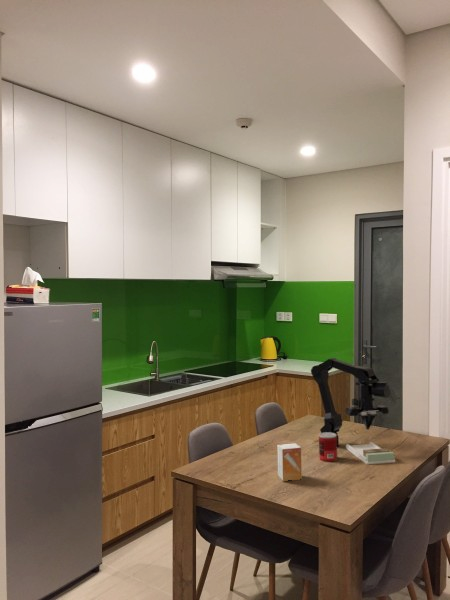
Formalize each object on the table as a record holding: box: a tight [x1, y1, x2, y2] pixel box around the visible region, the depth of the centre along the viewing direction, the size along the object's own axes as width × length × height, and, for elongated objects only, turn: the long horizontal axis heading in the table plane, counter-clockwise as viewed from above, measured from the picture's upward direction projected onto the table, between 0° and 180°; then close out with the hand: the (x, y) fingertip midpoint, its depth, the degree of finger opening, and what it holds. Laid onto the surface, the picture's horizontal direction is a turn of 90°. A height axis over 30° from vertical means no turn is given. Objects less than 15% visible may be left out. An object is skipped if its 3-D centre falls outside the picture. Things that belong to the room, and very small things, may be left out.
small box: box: [276, 443, 303, 482], centre depth 203 cm, size 8×6×13 cm
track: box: [345, 441, 396, 465], centre depth 230 cm, size 13×24×4 cm, turn 8°
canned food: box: [318, 432, 338, 463], centre depth 225 cm, size 8×8×11 cm
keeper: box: [363, 447, 391, 457], centre depth 222 cm, size 10×4×3 cm, turn 98°
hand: (367, 429), depth 231 cm, fingers closed
